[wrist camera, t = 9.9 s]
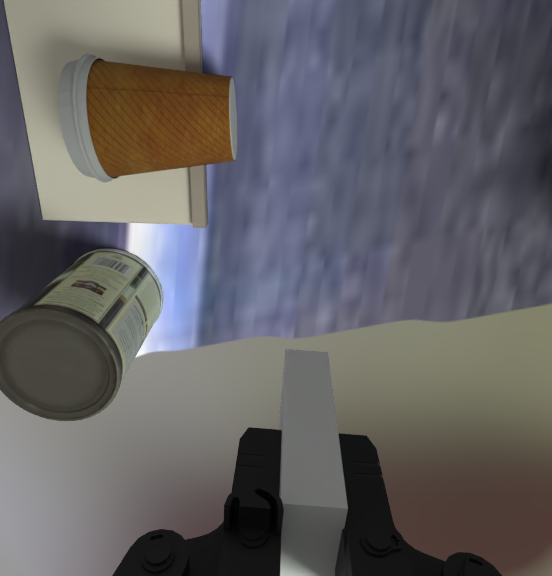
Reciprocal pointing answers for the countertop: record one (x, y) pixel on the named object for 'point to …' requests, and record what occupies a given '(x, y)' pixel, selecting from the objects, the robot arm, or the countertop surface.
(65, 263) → the countertop surface
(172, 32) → the cream flat rectangular board
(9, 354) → the coffee can
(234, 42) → the countertop surface
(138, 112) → the disposable coffee cup
